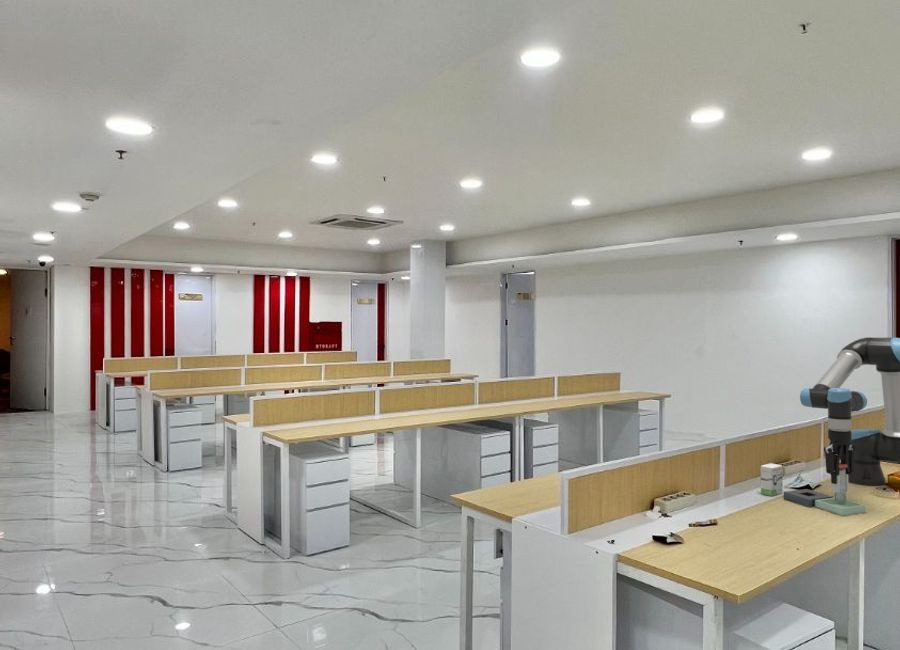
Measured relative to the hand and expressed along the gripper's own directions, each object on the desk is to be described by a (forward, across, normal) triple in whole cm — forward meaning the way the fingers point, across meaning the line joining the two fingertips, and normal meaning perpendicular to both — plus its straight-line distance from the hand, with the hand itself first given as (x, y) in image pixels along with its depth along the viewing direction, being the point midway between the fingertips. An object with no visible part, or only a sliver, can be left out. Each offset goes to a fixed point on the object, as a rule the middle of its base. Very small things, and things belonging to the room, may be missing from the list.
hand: (840, 491), depth 238 cm
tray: (+7, 0, 0) cm, 7 cm away
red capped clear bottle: (+5, 0, 0) cm, 5 cm away
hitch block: (+7, +2, -12) cm, 15 cm away
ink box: (+7, +6, -26) cm, 28 cm away
